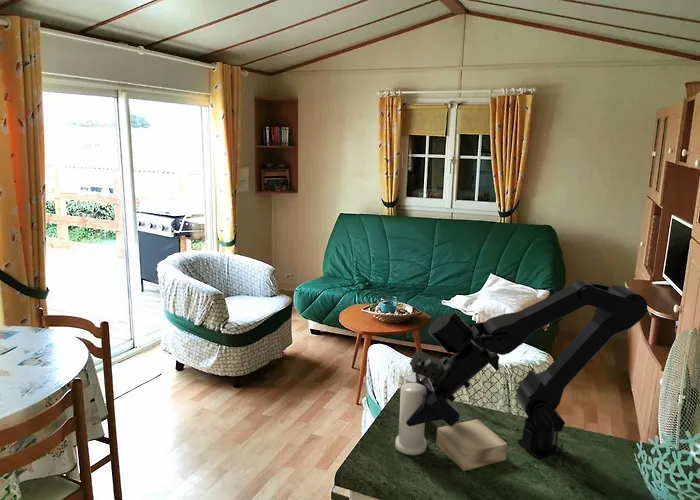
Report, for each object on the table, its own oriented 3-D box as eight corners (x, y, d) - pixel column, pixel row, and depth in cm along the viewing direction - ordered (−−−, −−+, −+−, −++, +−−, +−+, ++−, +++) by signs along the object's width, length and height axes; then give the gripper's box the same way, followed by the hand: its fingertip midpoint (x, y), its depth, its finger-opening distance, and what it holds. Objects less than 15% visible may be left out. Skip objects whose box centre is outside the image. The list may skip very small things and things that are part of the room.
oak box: (475, 435, 117) (477, 419, 116) (505, 461, 108) (507, 443, 107) (436, 445, 113) (437, 427, 113) (463, 472, 104) (464, 454, 104)
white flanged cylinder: (416, 435, 116) (419, 379, 113) (432, 451, 110) (435, 393, 108) (390, 441, 114) (392, 384, 111) (404, 458, 108) (407, 398, 105)
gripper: (426, 324, 116) (374, 371, 118) (446, 360, 98) (383, 415, 100) (460, 358, 118) (408, 404, 120) (485, 399, 100) (423, 453, 102)
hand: (405, 417), depth 111 cm, fingers closed on white flanged cylinder, 5 cm apart
